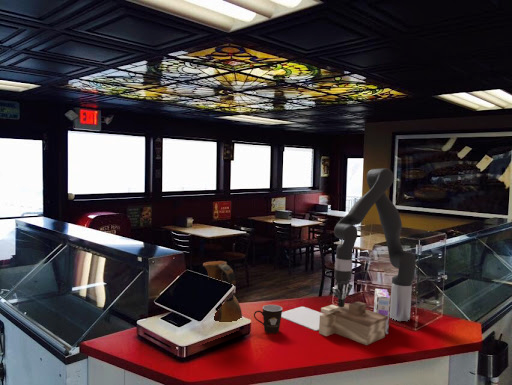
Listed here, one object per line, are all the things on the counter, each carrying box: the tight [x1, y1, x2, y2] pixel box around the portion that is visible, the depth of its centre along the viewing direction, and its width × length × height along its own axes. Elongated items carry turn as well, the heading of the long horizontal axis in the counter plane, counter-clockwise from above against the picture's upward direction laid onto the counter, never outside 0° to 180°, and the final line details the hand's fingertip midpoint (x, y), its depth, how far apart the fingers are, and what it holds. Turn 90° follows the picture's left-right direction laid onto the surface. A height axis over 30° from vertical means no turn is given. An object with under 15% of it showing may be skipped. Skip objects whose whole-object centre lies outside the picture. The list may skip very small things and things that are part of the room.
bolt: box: [320, 304, 340, 314], centre depth 188 cm, size 8×4×2 cm, turn 133°
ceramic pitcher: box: [202, 260, 243, 322], centre depth 184 cm, size 20×20×30 cm
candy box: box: [373, 288, 391, 335], centre depth 196 cm, size 14×6×16 cm, turn 168°
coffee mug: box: [253, 304, 284, 334], centre depth 188 cm, size 12×9×10 cm
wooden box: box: [318, 313, 386, 346], centre depth 186 cm, size 20×20×8 cm
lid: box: [331, 300, 388, 327], centre depth 188 cm, size 15×21×6 cm
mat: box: [281, 306, 324, 332], centre depth 206 cm, size 20×25×1 cm
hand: (341, 306), depth 194 cm, fingers closed
